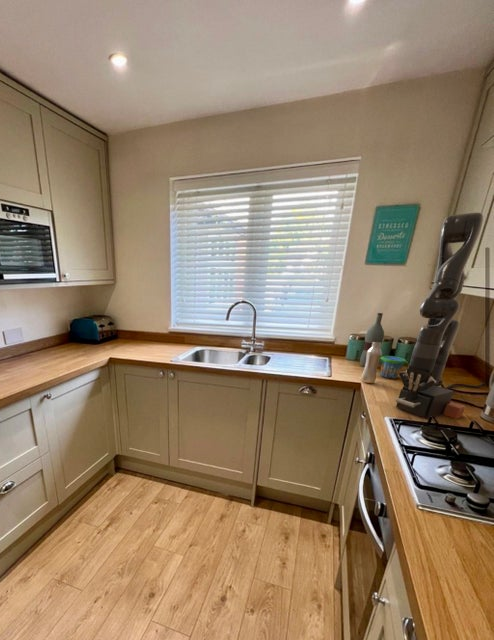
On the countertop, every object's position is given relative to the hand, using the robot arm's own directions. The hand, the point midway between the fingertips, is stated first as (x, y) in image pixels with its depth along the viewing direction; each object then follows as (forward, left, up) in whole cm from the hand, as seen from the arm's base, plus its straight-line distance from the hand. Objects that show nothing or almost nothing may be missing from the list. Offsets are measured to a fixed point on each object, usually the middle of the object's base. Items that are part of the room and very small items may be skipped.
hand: (410, 399), depth 126 cm
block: (-16, +8, -6) cm, 19 cm away
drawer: (-5, 0, -5) cm, 7 cm away
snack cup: (-41, -33, -6) cm, 53 cm away
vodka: (-51, -52, -6) cm, 73 cm away
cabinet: (-10, 0, -6) cm, 12 cm away
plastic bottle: (-22, -32, -6) cm, 40 cm away
